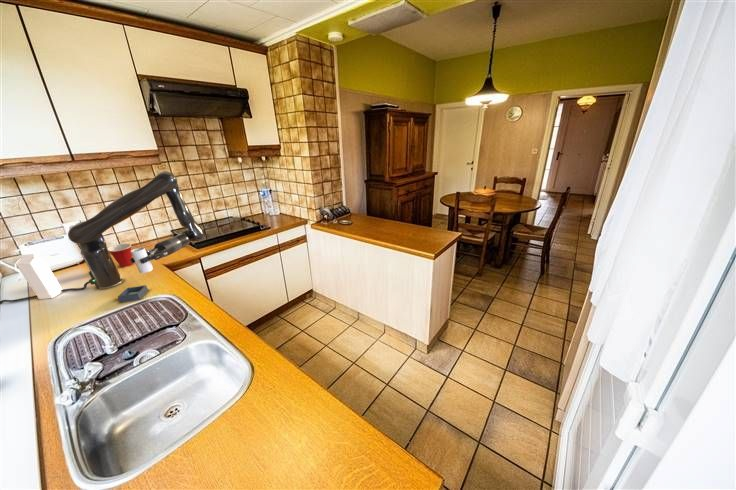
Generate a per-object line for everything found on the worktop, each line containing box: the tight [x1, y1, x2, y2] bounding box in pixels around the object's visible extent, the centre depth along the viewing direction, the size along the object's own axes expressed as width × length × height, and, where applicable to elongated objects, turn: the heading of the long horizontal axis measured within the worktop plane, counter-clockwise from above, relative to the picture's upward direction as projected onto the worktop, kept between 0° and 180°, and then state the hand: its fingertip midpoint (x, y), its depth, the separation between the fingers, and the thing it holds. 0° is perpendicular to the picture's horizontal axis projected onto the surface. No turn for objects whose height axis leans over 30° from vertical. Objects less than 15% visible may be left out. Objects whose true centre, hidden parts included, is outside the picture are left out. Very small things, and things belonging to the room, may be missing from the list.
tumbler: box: [130, 246, 154, 274], centre depth 123 cm, size 5×5×11 cm
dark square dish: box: [117, 284, 149, 303], centre depth 124 cm, size 8×8×3 cm
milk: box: [16, 253, 63, 300], centre depth 125 cm, size 6×6×22 cm
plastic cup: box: [107, 242, 134, 268], centre depth 155 cm, size 11×11×12 cm
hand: (136, 261), depth 121 cm, fingers closed on tumbler, 5 cm apart
